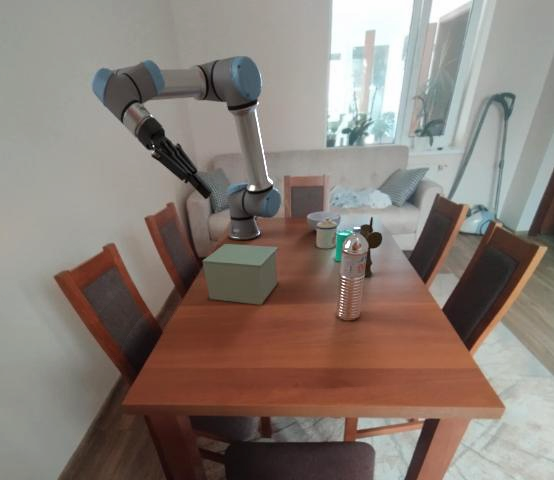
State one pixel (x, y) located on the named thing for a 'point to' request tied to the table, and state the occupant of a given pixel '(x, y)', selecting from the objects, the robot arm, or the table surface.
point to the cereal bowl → (322, 218)
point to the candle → (340, 239)
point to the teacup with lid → (326, 234)
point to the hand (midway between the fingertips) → (208, 195)
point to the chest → (241, 282)
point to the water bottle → (352, 276)
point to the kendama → (370, 243)
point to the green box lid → (241, 255)
